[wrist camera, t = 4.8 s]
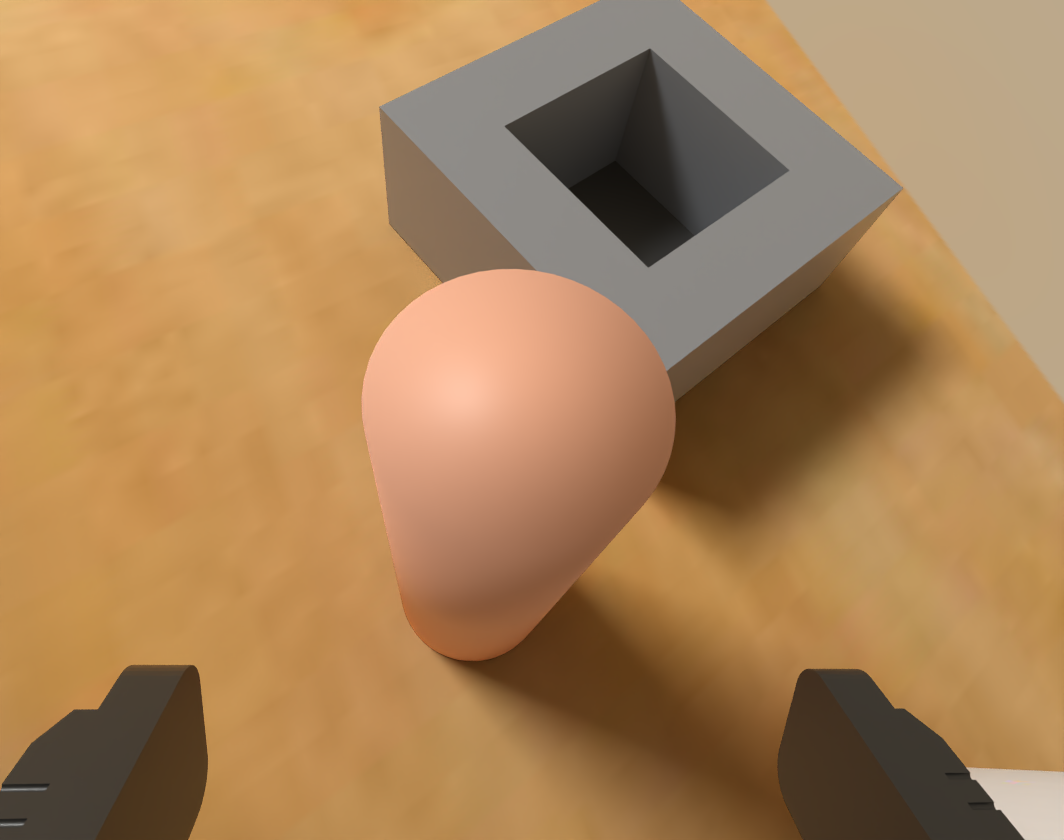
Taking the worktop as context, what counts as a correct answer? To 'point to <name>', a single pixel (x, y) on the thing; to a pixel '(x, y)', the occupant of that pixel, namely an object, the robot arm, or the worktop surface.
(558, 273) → the socket block
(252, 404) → the worktop surface
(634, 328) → the peg
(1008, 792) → the white patterned cylinder
